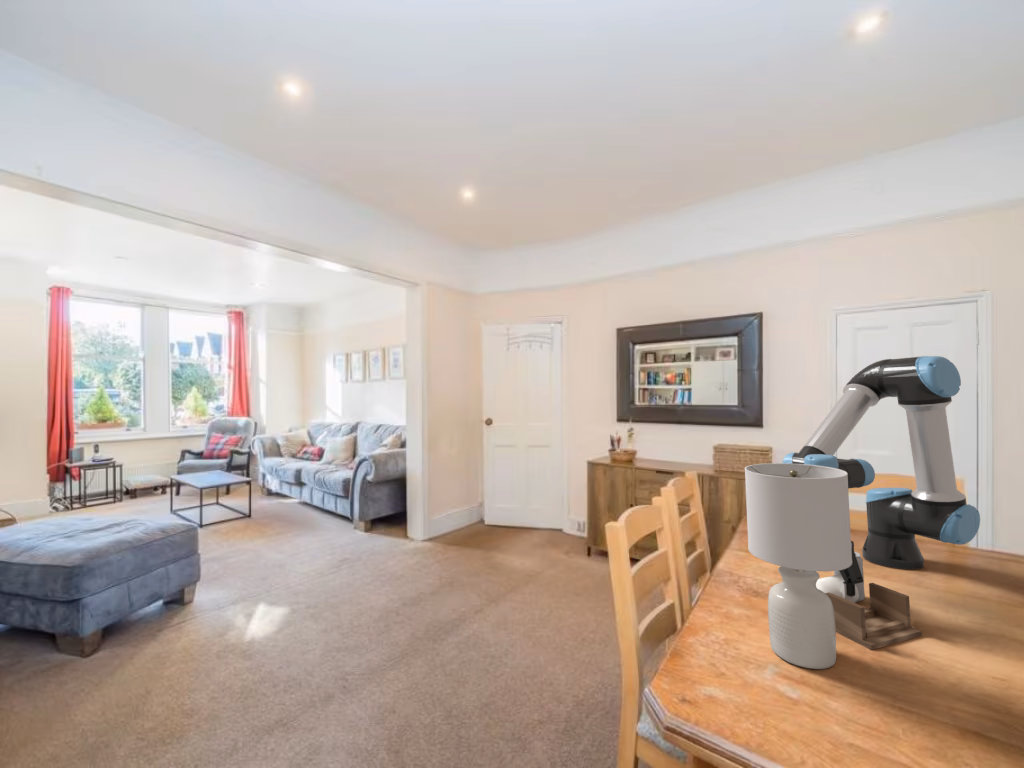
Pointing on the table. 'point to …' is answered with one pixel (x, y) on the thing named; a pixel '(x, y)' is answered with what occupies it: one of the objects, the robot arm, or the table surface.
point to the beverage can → (861, 585)
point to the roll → (834, 586)
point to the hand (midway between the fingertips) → (827, 598)
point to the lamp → (800, 552)
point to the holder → (875, 618)
